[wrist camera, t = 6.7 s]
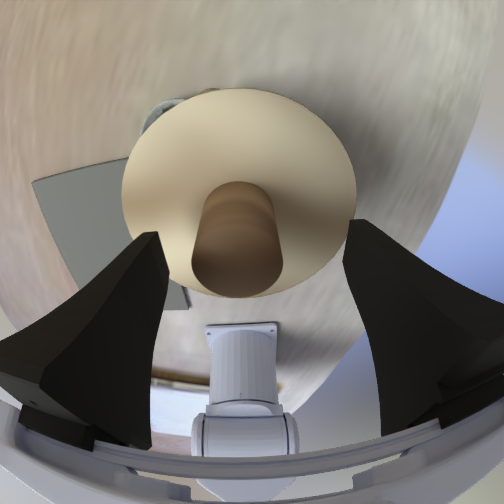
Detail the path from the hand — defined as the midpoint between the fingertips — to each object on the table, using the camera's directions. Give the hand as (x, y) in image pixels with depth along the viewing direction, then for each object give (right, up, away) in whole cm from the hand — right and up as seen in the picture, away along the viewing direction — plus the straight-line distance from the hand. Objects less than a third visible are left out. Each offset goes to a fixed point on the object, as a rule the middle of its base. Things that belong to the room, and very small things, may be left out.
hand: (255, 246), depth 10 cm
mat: (-13, 0, +13) cm, 18 cm away
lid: (-1, +2, +2) cm, 3 cm away
